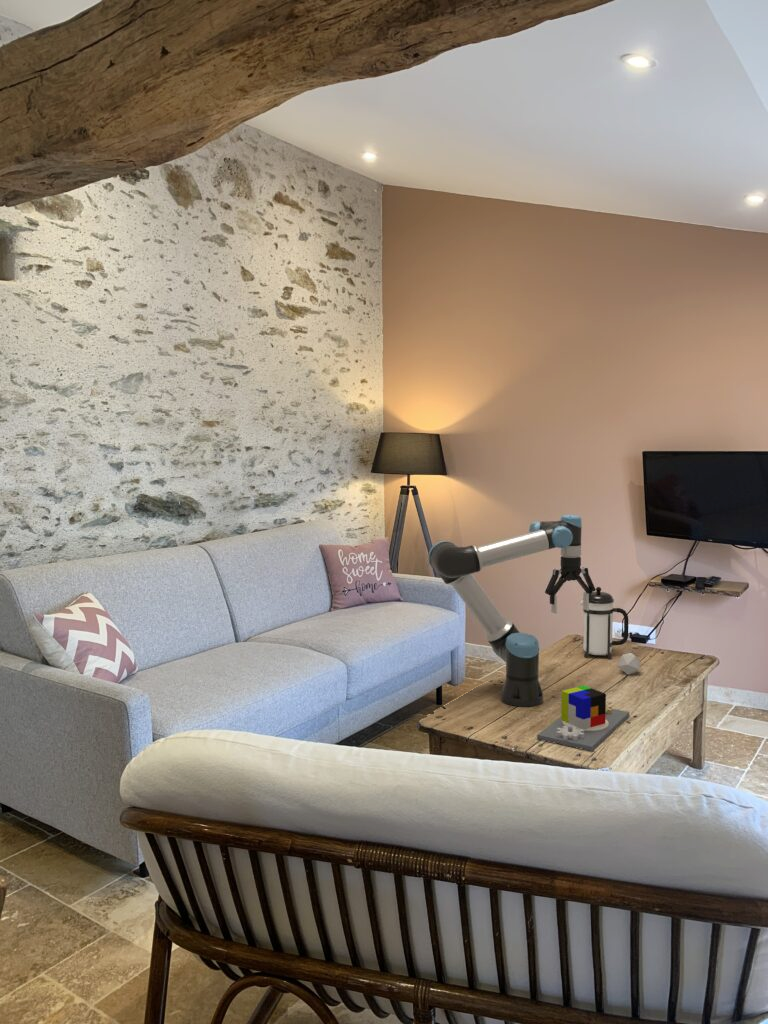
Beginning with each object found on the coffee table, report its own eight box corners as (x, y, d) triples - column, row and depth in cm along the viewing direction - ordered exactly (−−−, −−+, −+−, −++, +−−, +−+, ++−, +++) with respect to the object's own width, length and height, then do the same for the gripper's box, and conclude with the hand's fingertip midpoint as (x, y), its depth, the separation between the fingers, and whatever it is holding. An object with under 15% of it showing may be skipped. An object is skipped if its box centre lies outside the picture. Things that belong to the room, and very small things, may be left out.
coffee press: (598, 662, 342) (599, 592, 339) (572, 653, 356) (573, 585, 353) (628, 656, 350) (630, 587, 347) (602, 648, 364) (603, 581, 361)
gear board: (591, 751, 250) (592, 738, 250) (537, 739, 260) (537, 726, 260) (629, 716, 280) (629, 704, 279) (578, 706, 290) (579, 695, 289)
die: (629, 670, 334) (615, 652, 333) (647, 663, 328) (633, 645, 327) (625, 682, 327) (611, 664, 326) (644, 675, 322) (629, 657, 321)
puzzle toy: (582, 729, 263) (583, 699, 262) (561, 720, 271) (561, 690, 270) (605, 723, 268) (605, 693, 267) (583, 714, 276) (583, 685, 275)
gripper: (594, 552, 316) (593, 606, 318) (536, 556, 309) (535, 611, 311) (605, 555, 309) (604, 610, 311) (545, 559, 302) (545, 615, 304)
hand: (570, 611), depth 311 cm, fingers open, 13 cm apart
